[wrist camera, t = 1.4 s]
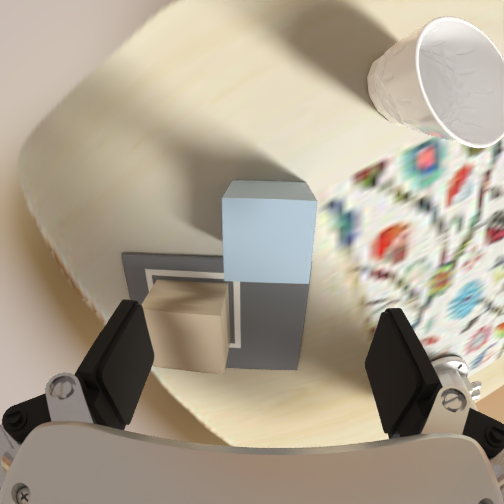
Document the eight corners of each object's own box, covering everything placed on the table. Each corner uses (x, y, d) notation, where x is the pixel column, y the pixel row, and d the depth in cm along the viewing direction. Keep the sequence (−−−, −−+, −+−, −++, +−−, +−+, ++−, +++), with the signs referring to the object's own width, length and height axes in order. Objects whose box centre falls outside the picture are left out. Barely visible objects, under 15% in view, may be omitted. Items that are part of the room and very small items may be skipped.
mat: (311, 260, 26) (312, 262, 26) (296, 367, 32) (296, 370, 32) (123, 253, 27) (121, 255, 27) (147, 356, 33) (146, 359, 33)
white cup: (452, 90, 19) (527, 89, 10) (411, 151, 22) (482, 175, 13) (388, 29, 17) (447, -7, 8) (341, 92, 20) (389, 76, 11)
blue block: (306, 182, 24) (317, 201, 18) (301, 248, 26) (308, 283, 21) (232, 179, 24) (221, 197, 18) (233, 246, 26) (224, 280, 21)
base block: (228, 283, 27) (220, 315, 23) (230, 339, 30) (224, 374, 26) (157, 279, 28) (138, 309, 23) (167, 334, 31) (153, 366, 26)
